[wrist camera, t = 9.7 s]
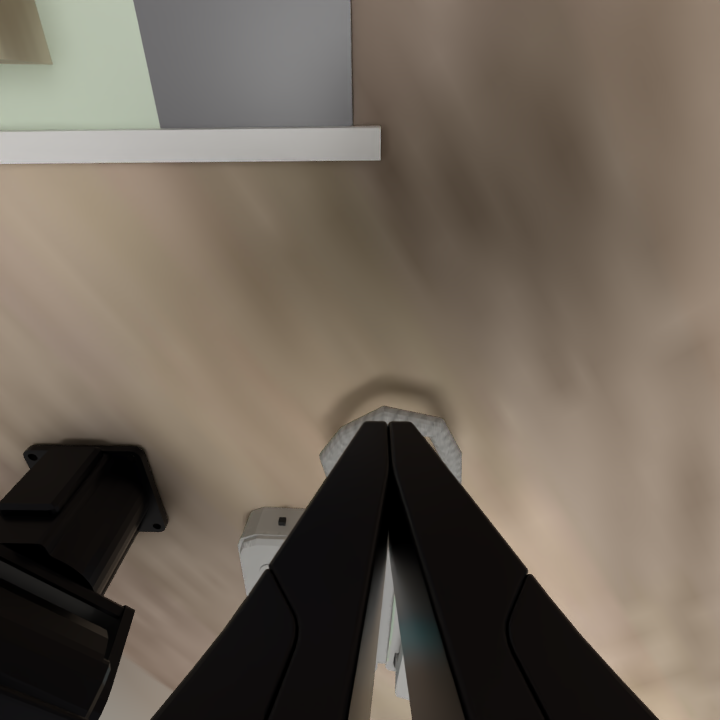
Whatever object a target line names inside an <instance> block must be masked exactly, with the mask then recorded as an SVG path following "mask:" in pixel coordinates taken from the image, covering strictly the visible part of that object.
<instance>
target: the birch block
mask: <svg viewBox="0 0 720 720" xmlns="http://www.w3.org/2000/svg"><path fill="white" fill-rule="evenodd" d="M0 64H43V65H53V63H52V60H51V56H50V53H49V49H48V46H47V42H46V39H45V35H44V32H43V28H42V25H41V21H40V18H39V14H38V11H37V7H36V4H35V0H0Z"/></svg>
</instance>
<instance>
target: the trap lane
mask: <svg viewBox="0 0 720 720" xmlns="http://www.w3.org/2000/svg"><path fill="white" fill-rule="evenodd" d="M35 4H36V7H37V11H38V14H39V18H40V21H41V25H42V28H43V32H44V35H45V39H46V42H47V46H48V49H49V53H50V56H51V60H52V63H53V65H43V64H0V164H38V163H148V162H258V161H368V160H381V126H353V110H352V52H351V0H35Z"/></svg>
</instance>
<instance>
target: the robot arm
mask: <svg viewBox="0 0 720 720" xmlns="http://www.w3.org/2000/svg"><path fill="white" fill-rule="evenodd" d="M133 455H134V456H133ZM23 456H24V458H25V460H26V462H27V464H28V466H29V468H30V470H29V471H28V472H27V473H26V474H25V476H24V477H23V478H22V479H21V480H20V481H19V482H18V483H17V484H16V485H15V486H14V487H13V488H12V489H11V490H10V492H9V493H8V494H7V495H6V496H5V497H4V498H3V499H2V500H1V501H0V720H98V719H99V717H100V715H101V714H102V711H103V709H104V707H105V705H106V702H107V700H108V697H109V694H110V691H111V689H112V685H113V682H114V679H115V675H116V672H117V669H118V666H119V662H120V659H121V656H122V652H123V649H124V646H125V642H126V639H127V636H128V632H129V629H130V626H131V623H132V619H133V616H134V613H135V610H134V609H132V608H130V607H128V606H126V605H124V606H122V605H120V604H118V603H116V602H114V601H112V600H110V599H108V598H106V597H104V594H105V592H106V590H107V588H108V586H109V585H110V583H111V581H112V579H113V577H114V575H115V574H116V572H117V570H118V568H119V566H120V565H121V563H122V561H123V559H124V557H125V555H126V554H127V552H128V550H129V548H130V546H131V544H132V543H133V541H134V539H135V537H136V535H137V534H138V532H162V531H164V530H165V528H166V526H167V524H168V520H167V517H166V514H165V511H164V508H163V506H162V503H161V500H160V497H159V494H158V491H157V488H156V485H155V482H154V479H153V477H152V474H151V471H150V468H149V465H148V462H147V459H146V456H145V453H144V452H143V450H141V449H140V448H138V447H134V446H52V445H33V446H30V447H29V448H28V449H27V450H26V451H25V452H24V453H23ZM388 546H389V557H390V565H391V572H392V579H393V586H394V594H395V601H396V608H397V615H398V622H399V629H400V636H401V643H402V650H403V657H404V665H405V672H406V679H407V686H408V693H409V700H410V707H411V714H412V720H659V719H658V718H657V717H656V716H655V715H654V714H653V713H652V711H651V710H650V709H649V708H648V707H647V706H646V705H645V704H644V703H643V702H642V701H641V700H640V699H639V698H638V697H637V696H636V694H635V693H634V692H633V691H632V690H631V689H630V688H629V687H628V686H627V685H626V684H625V683H624V682H623V681H622V680H621V678H620V677H619V676H618V675H617V674H616V673H615V672H614V671H613V670H612V669H611V667H610V666H609V665H608V664H607V663H606V662H605V661H604V660H603V659H602V658H601V656H600V655H599V654H598V653H597V652H596V651H595V650H594V649H593V648H592V647H591V645H590V644H589V643H588V642H587V641H586V640H585V639H584V638H583V637H582V635H581V634H580V633H579V632H578V631H577V629H576V628H575V627H574V626H573V625H572V623H571V622H570V621H569V620H568V619H567V617H566V616H565V615H564V614H563V612H562V611H561V610H560V609H559V608H558V606H557V605H556V604H555V603H554V602H553V600H552V599H551V598H550V597H549V595H548V594H547V593H546V592H545V590H544V589H543V588H542V586H541V585H540V584H539V583H538V581H537V580H536V579H535V577H534V576H533V575H532V574H528V569H527V568H526V566H525V565H524V564H523V563H522V561H521V560H520V559H519V557H518V556H517V555H516V554H515V552H514V551H513V550H512V549H511V547H510V546H509V545H508V543H507V542H506V541H505V540H504V538H503V537H502V536H501V535H500V533H499V532H498V531H497V529H496V528H495V527H494V526H493V524H492V523H491V522H490V521H489V519H488V518H487V517H486V515H485V514H484V513H483V512H482V510H481V509H480V508H479V507H478V505H477V504H476V503H475V501H474V500H473V499H472V498H471V496H470V495H469V494H468V493H467V491H466V490H465V489H464V488H463V486H462V485H461V484H460V482H459V481H458V480H457V479H456V477H455V476H454V475H453V474H452V472H451V471H450V470H449V468H448V467H447V466H446V465H445V463H444V462H443V461H442V460H441V458H440V457H439V456H438V454H437V453H436V452H435V451H434V449H433V448H432V447H431V446H430V444H429V443H428V442H427V440H426V439H425V438H424V437H423V435H422V434H421V433H420V432H419V430H418V429H417V428H416V426H415V425H414V424H413V423H412V422H410V421H390V422H389V423H388V424H387V423H386V422H385V421H365V422H363V424H362V425H361V426H360V428H359V429H358V431H357V432H356V434H355V435H354V437H353V438H352V440H351V441H350V443H349V444H348V446H347V447H346V449H345V450H344V452H343V453H342V455H341V456H340V458H339V459H338V461H337V462H336V464H335V466H334V467H333V469H332V470H331V472H330V473H329V475H328V476H327V478H326V479H325V481H324V482H323V484H322V485H321V487H320V488H319V490H318V491H317V493H316V494H315V496H314V497H313V499H312V500H311V502H310V503H309V505H308V506H307V508H306V509H305V511H304V512H303V514H302V515H301V517H300V518H299V520H298V521H297V523H296V524H295V526H294V527H293V529H292V530H291V532H290V533H289V535H288V536H287V538H286V539H285V541H284V542H283V544H282V545H281V547H280V548H279V550H278V551H277V553H276V554H275V556H274V557H273V559H272V560H271V562H270V563H269V565H268V567H269V569H266V570H264V572H263V573H262V575H261V576H260V578H259V579H258V581H257V582H256V584H255V585H254V587H253V588H252V590H251V591H250V593H249V594H248V596H247V597H246V599H245V600H244V601H243V603H242V604H241V606H240V607H239V608H238V610H237V611H236V613H235V614H234V616H233V617H232V618H231V620H230V621H229V623H228V624H227V625H226V627H225V628H224V630H223V631H222V632H221V633H220V635H219V636H218V637H217V638H216V640H215V641H214V642H213V643H212V645H211V646H210V647H209V648H208V650H207V651H206V652H205V654H204V655H203V656H202V657H201V659H200V660H199V661H198V662H197V664H196V665H195V666H194V667H193V669H192V670H191V671H190V672H189V674H188V675H187V676H186V677H185V678H184V680H183V681H182V682H181V683H180V684H179V686H178V687H177V688H176V689H175V690H174V692H173V693H172V694H171V695H170V697H169V698H168V699H167V700H166V701H165V703H164V704H163V705H162V706H161V707H160V709H159V710H158V711H157V712H156V714H155V715H154V716H153V717H152V718H151V720H370V713H371V703H372V694H373V685H374V675H375V666H376V656H377V647H378V638H379V628H380V619H381V609H382V600H383V591H384V581H385V572H386V562H387V548H388ZM527 574H528V575H527Z"/></svg>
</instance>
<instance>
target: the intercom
mask: <svg viewBox="0 0 720 720" xmlns="http://www.w3.org/2000/svg"><path fill="white" fill-rule="evenodd" d="M365 421H385V422H386V423H387V424H388V423H389V422H390V421H410V422H412V423H413V424H414V425H415V426H416V428H417V429H418V430H419V432H420V433H421V434H422V435H423V436H425V437H430V439H431V441H432V443H433V445H434V447H435V449H436V451H437V453H438V455H439V457H440V458H441V460H442V461H443V462H444V463H445V465H446V466H447V467H448V468H449V470H450V471H451V472H452V474H453V475H454V476H455V477H456V479H457V480H458V481H459V482H460V484H461V474H462V453H461V451H460V449H459V447H458V445H457V443H456V441H455V440H454V438H453V436H452V434H451V432H450V430H449V429H448V427H447V425H446V423H445V421H444V419H443V418H440V417H435V416H431V415H426V414H421V413H416V412H411V411H406V410H402V409H397V408H392V407H387V406H382V407H380V408H378V409H376V410H374V411H372V412H370V413H368V414H366V415H364V416H362V417H360V418H358V419H356V420H354V421H352V422H350V423H348V424H346V425H344V426H342V427H341V428H340V429H339V430H338V432H337V433H336V434H335V435H334V437H333V438H332V439H331V440H330V441H329V443H328V444H327V445H326V446H325V448H324V449H323V450H322V451H321V453H320V455H319V456H320V460H321V463H322V466H323V469H324V472H325V474H326V477H327V476H328V475H329V473H330V472H331V470H332V469H333V467H334V466H335V464H336V462H337V461H338V459H339V458H340V456H341V455H342V453H343V452H344V450H345V449H346V447H347V446H348V444H349V443H350V441H351V440H352V438H353V437H354V435H355V434H356V432H357V431H358V429H359V428H360V426H361V425H362V424H363V422H365ZM304 511H305V509H303V508H277V507H263V508H260V509H257V510H253V511H252V512H251V514H250V516H249V519H248V521H247V524H246V526H245V528H244V531H243V533H242V536H241V538H240V541H239V543H238V550H239V556H240V561H241V567H242V572H243V578H244V583H245V589H246V594H247V596H248V594H249V593H250V591H251V590H252V588H253V587H254V585H255V584H256V582H257V581H258V579H259V578H260V576H261V575H262V573H263V572H264V570H266V569H269V567H268V565H269V563H270V562H271V560H272V559H273V557H274V556H275V554H276V553H277V551H278V550H279V548H280V547H281V545H282V544H283V542H284V541H285V539H286V538H287V536H288V535H289V533H290V532H291V530H292V529H293V527H294V526H295V524H296V523H297V521H298V520H299V518H300V517H301V515H302V514H303V512H304ZM378 663H386V668H387V669H388V670H390V671H396V681H395V693H396V696H397V697H400V698H403V699H407V700H409V693H408V686H407V679H406V672H405V665H404V657H403V650H402V643H401V636H400V629H399V622H398V615H397V608H396V601H395V594H394V586H393V579H392V572H391V565H390V557H389V546H388V548H387V562H386V572H385V581H384V591H383V600H382V609H381V619H380V628H379V638H378V647H377V656H376V666H375V671H376V669H377V664H378Z"/></svg>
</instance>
